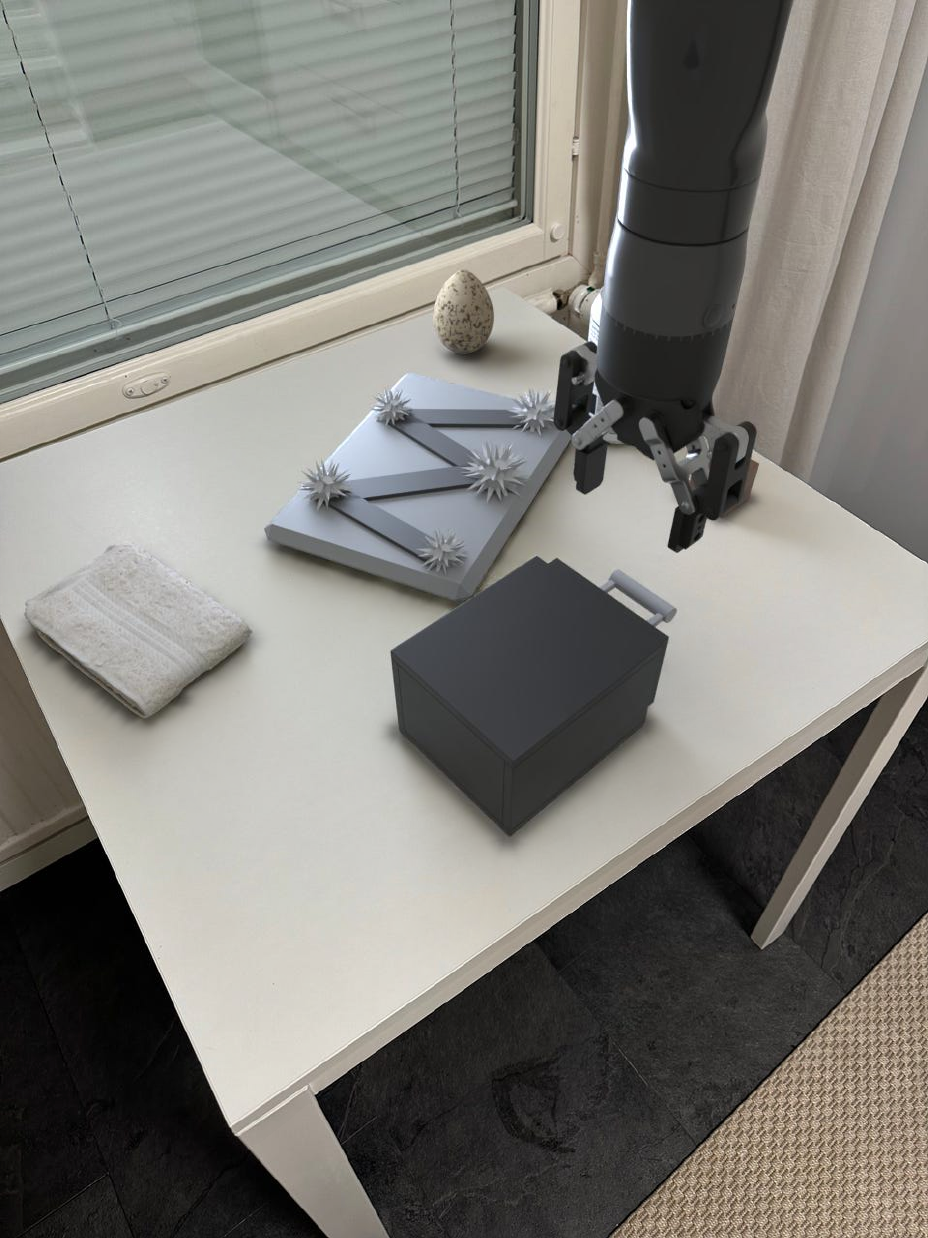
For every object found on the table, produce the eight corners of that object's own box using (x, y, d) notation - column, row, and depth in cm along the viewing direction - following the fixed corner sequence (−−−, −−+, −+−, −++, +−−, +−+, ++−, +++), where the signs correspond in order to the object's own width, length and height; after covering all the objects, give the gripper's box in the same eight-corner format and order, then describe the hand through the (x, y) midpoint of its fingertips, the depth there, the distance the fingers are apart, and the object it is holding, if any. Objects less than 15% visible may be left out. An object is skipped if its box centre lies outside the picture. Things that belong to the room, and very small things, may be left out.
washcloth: (129, 552, 84) (119, 528, 82) (261, 638, 77) (254, 614, 74) (18, 627, 78) (5, 602, 76) (150, 728, 70) (139, 705, 68)
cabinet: (531, 636, 76) (536, 554, 69) (644, 725, 70) (662, 645, 63) (398, 730, 70) (389, 650, 63) (509, 837, 63) (513, 762, 56)
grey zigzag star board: (406, 385, 103) (402, 328, 98) (582, 430, 97) (588, 372, 91) (260, 546, 85) (246, 487, 79) (466, 614, 78) (465, 555, 73)
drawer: (590, 596, 78) (598, 529, 73) (693, 670, 73) (711, 604, 67) (430, 708, 70) (426, 643, 64) (532, 802, 64) (537, 739, 59)
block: (749, 499, 88) (759, 463, 85) (722, 518, 87) (731, 482, 83) (713, 478, 91) (722, 442, 88) (686, 497, 89) (693, 461, 86)
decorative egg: (445, 331, 111) (442, 252, 104) (500, 339, 110) (501, 260, 102) (427, 361, 107) (423, 281, 99) (484, 369, 105) (484, 289, 98)
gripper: (815, 320, 49) (749, 541, 61) (618, 237, 56) (594, 449, 68) (731, 371, 45) (679, 595, 57) (533, 275, 53) (523, 491, 65)
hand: (633, 515), depth 63 cm, fingers open, 8 cm apart
